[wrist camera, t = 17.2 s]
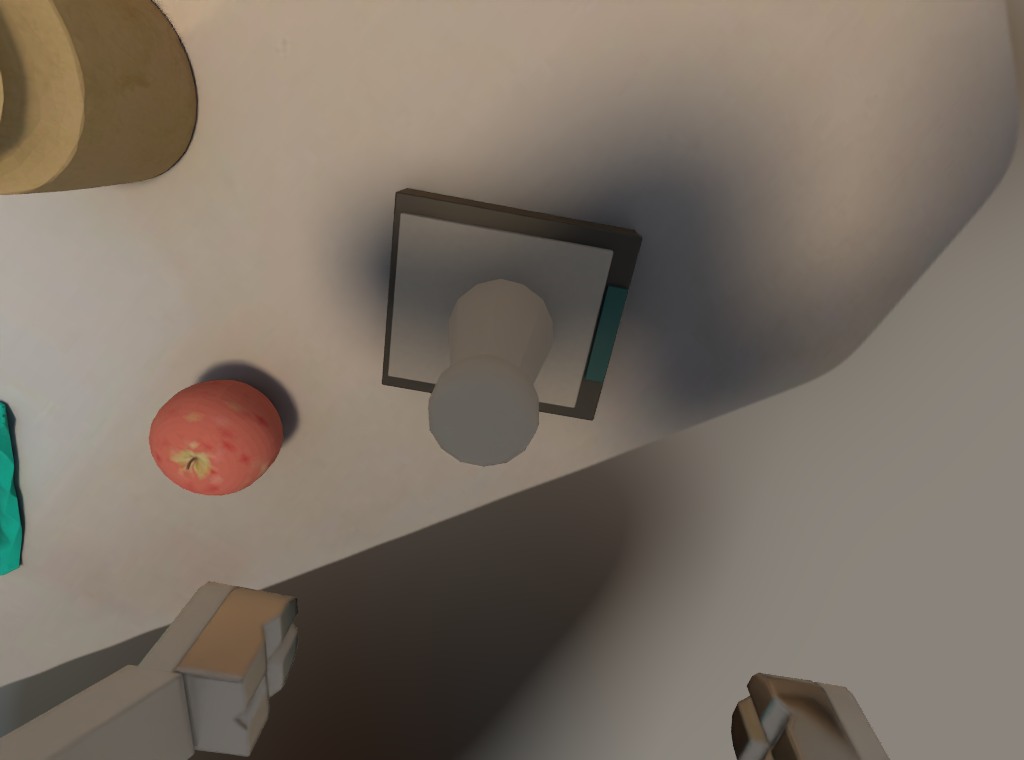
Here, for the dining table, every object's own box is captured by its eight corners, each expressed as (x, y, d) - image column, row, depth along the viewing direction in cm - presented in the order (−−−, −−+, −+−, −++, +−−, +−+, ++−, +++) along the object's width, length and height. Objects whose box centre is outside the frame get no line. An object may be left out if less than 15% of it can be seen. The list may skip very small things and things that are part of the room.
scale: (635, 230, 31) (645, 238, 29) (589, 404, 36) (594, 425, 34) (405, 187, 31) (392, 192, 28) (391, 369, 36) (378, 388, 33)
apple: (251, 342, 36) (178, 393, 28) (321, 424, 38) (270, 490, 31) (177, 392, 37) (90, 451, 30) (247, 466, 40) (183, 538, 33)
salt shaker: (541, 260, 29) (544, 339, 17) (560, 353, 32) (574, 478, 20) (442, 282, 30) (381, 372, 18) (468, 371, 32) (428, 502, 21)
